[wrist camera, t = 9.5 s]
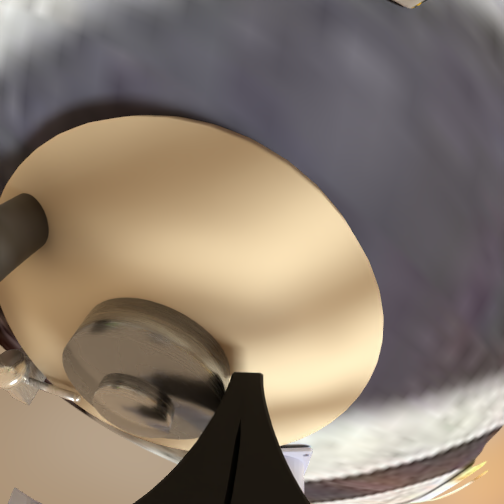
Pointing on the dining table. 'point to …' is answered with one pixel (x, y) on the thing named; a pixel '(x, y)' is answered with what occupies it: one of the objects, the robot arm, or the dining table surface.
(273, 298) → the platter
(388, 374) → the dining table surface
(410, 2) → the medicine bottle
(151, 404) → the cover
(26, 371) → the silver knobbed piece
